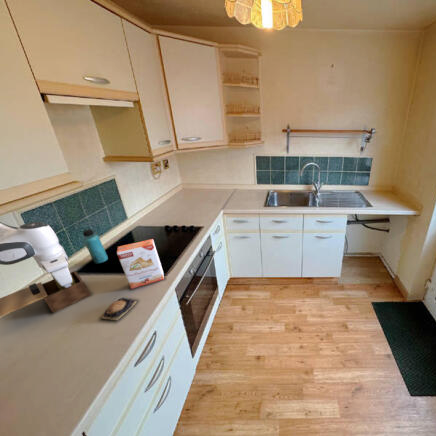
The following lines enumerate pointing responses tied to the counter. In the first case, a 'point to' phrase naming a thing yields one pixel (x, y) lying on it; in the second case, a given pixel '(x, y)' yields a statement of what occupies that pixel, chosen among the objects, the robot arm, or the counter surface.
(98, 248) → the beverage bottle
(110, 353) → the counter surface
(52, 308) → the box
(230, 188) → the counter surface
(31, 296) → the lid
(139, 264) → the cracker box
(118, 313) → the brown oval piece
